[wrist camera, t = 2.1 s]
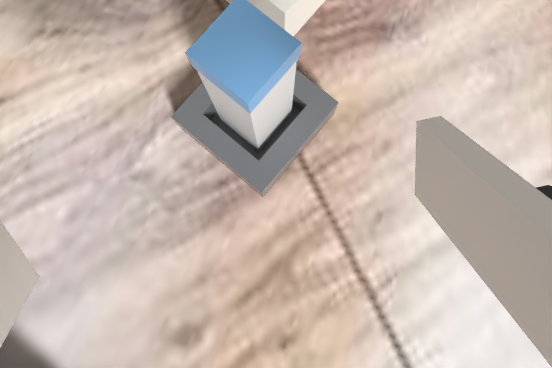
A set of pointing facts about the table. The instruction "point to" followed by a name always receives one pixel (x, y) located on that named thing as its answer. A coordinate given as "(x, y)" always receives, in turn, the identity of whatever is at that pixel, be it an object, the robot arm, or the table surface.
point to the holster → (277, 151)
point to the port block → (287, 12)
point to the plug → (247, 71)
